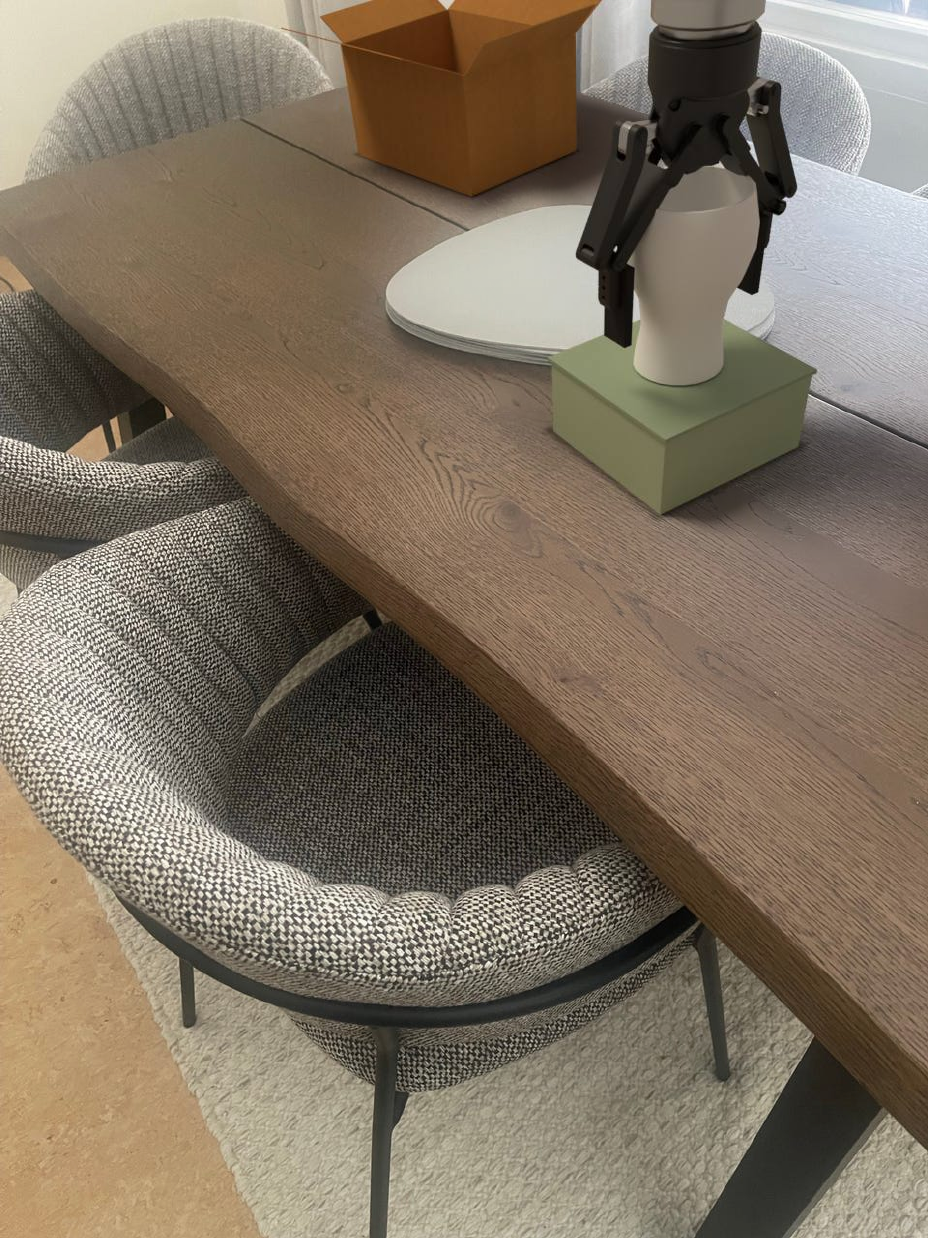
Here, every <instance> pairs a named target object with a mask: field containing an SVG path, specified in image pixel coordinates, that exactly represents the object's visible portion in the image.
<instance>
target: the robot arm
mask: <svg viewBox="0 0 928 1238" xmlns="http://www.w3.org/2000/svg"><path fill="white" fill-rule="evenodd" d="M766 2H767V0H650V18H651V20H652V22H653V23H654V24H656V25H655V26H654V28H653V29H652V31H651V32H650V33H649V37H648V54H647V55H648V56H647V57H648V58H647V77H646V78H647V86H648V88H649V92H650V94H651V99H652V100H651V101H652V104H651V109H650V112H649V115H648V117H647V119H645V120H637V121H634V122H633V121H631V120H628V119H625V118H618V119H617V120H616V121H615V123H614V124H613V128H612V135H611V145H610V154H609V157H608V160H607V163H606V166H605V169H604V170H603V174H602V177H601V180H600V183H599V186H598V188H597V191H596V194H595V197H594V199H593V202H592V206H591V208H590V211H589V214H588V216H587V219H586V222H585V225H584V227H583V230H582V232H581V233H582V234H581V236H580V239H579V242H578V244H577V247H576V251H575V258H576V260H578V261H580V262H581V263H583V264H585V265H586V266H588V267H590V268H592V269H594V270H596V271H597V272H598V275H597V276H598V277H597V278H598V279H597V286H598V288H597V291H598V292H597V299H598V303H599V304H600V305H601V306H603V307H604V309H603V311H604V313H603V315H604V316H603V335H604V336H605V337H607V338H609V339H610V340H612V341H613V342H615V343H617V344H618V345H620V346H621V347H623V348H627V347H629V346H631V345H632V327H633V322H634V300H635V298H634V297H635V291H634V277H635V268H634V267H632V266H630V265H629V264H627V262H628V261H629V259H630V257H631V256H632V254H633V252H634V250H635V249H636V247H637V245H638V243H639V242H640V240H641V238H642V236H643V235H644V233H645V231H646V230H647V228H648V226H649V224H650V223H651V221H652V219H653V217H654V216H655V212H656V209H658V208H659V207H660V205H661V204H662V202H663V200H664V198H665V197H666V195H667V193H668V191H669V190H670V189H671V188H674V187H676V186H677V185H678V184H679V182H680V180H681V179H682V177H683V175H684V174H687V175H688V174H691V173H694V172H696V171H697V170H699V169H700V168H702V167H703V166H713V165H719V164H721V166H724V168H725V169H727V170H729V171H731V172H733V173H735V174H737V175H742V176H748V175H749V176H750V177H751V178H752V179H753V181H754V182H755V183H756V191H757V201H758V211H759V221H760V224H759V231H758V238H757V246H756V250H755V252H754V254H753V257H752V259H751V261H750V264H749V266H748V268H747V270H746V273H745V275H744V277H743V279H742V281H741V282H740V284H739V285H738V287H737V288H736V289H738V290H740V291H742V292H744V293H747V294H748V295H751V296H754V295H757V294H759V291H760V285H761V277H762V270H763V263H764V255H765V249H767V248H768V245H769V243H770V238H771V231H772V223H773V218H774V216H777V217H779V216H781V215H782V214H783V213H785V211H786V208H787V204H788V203H787V201H786V200H784V199H785V198H787V199H792V198H793V197H794V196H795V195H796V193H797V191H798V183H797V177H796V174H795V170H794V169H795V168H794V166H793V161H792V157H791V153H790V148H789V146H788V145H789V143H788V139H787V135H786V132H785V128H784V127H785V126H784V123H783V119H782V118H783V117H782V115H781V106H782V89H783V88H782V84H781V83H780V82H779V81H775V80H772V79H769V78H765V77H762V76H758V67H759V59H760V53H761V52H760V50H761V43H762V33H763V29H762V27H761V26H760V24H759V22H758V21H757V20H759V19H760V18H761V17H762V16H763V15H764V14H765V13H766V12H765V11H766V4H767V3H766ZM744 119H746V123H747V126H748V131H749V135H750V138H751V141H752V145H753V148H754V152H755V155H756V159H757V160H756V159H755V158H754V156H753V154H752V153H751V150H752V147H751V145H750V144H749V142H748V140H747V139H746V137H745V136H744V134H743V133H742V131H741V129H740V128H741V126H742V124H743V121H744ZM660 161H662V163H663V164H664V166H665V167H668V168H667V169H664V167H662V166H659V163H660ZM615 249H616V250H615Z"/></svg>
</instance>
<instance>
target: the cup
mask: <svg viewBox="0 0 928 1238" xmlns="http://www.w3.org/2000/svg"><path fill="white" fill-rule="evenodd" d="M663 168H664V169H667V168H668V167H667V166H664V167H663ZM759 224H760V221H759V211H758V201H757V191H756V183H755V182H754V181H753V179H752V178H751V177H750V176H749V175H748V176H742V175H737V174H735V173H733V172H731V171H729V170H727V169H725V168H724V166H723V165H719V164H716V165H713V166H703V167H702V168H700V169H699V170H697V171H696V172H694V173H691V174H688V175H687V174H684V175H683V177H682V179H681V180H680V182H679V184H678V185H677V186H676V187H674V188H671V189H670V190H669V191H668V193H667V195H666V197H665V198H664V200H663V202H662V204H661V205H660V207H659V208H658V209H656V212H655V216H654V217H653V219H652V221H651V223H650V224H649V226H648V228H647V230H646V231H645V233H644V235H643V236H642V238H641V240H640V242H639V243H638V245H637V247H636V249H635V250H634V252H633V254H632V256H631V257H630V259H629V261H628V262H627V264H629V265H630V266H632V267H634V268H635V277H634V294H636V298H638V309H639V318H640V319H639V320H641V326H640V330H639V334H638V339H637V343H636V348H635V354H634V363H633V365H634V367H635V369H636V371H637V372H638V373H639V374H640V375H641V376H643V377H645V378H647V379H648V380H651V381H654V382H657V383H660V384H667V385H690V384H697V383H700V382H703V381H707V380H708V379H710V378H712V377H714V376H716V375H717V374H718V373H719V372H720V371H721V369H722V367H723V365H724V357H723V336H722V323H723V319H725V315H726V312H727V307H728V303H729V300H730V299H731V297H732V296H733V295H734V293H735V291H736V290H737V289H738V288H737V287H738V285H739V284H740V282H741V281H742V279H743V277H744V275H745V273H746V270H747V268H748V266H749V264H750V261H751V259H752V257H753V254H754V252H755V250H756V246H757V238H758V231H759Z"/></svg>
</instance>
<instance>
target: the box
mask: <svg viewBox="0 0 928 1238" xmlns="http://www.w3.org/2000/svg"><path fill="white" fill-rule="evenodd" d="M602 1H603V0H453V2H452V3H451V4H450V5H449V7H448V8H446V7H445V6H444V5H443V3H442V2H440V0H368V1H365V2H361V3H358V4H355V5H351V6H348V7H345V8H342V9H339V10H336V11H332V12H329V13H326V14H323V15H319V18H320V19H321V20H322V22H323V23H324V24H325V25H326V26H327V27H328V28H329V30H331V32H332V33H333V34H334V35H335V36H336V37H337V39H338V40H339V41H336V40H332V39H328V38H325V37H324V38H323V37H321V36H315V35H313V34H308V33H306V32H305V33H304V32H300V31H296V30H292V29H288V28H284V27H280V29H282V30H284V31H289V32H291V33H296V34H299V35H304V36H307V37H311V38H315V39H319V40H323V41H326V42H331V43H335V44H339V45H340V49H341V56H342V62H343V67H344V74H345V79H346V86H347V91H348V98H349V104H350V111H351V116H352V117H351V118H352V122H353V128H354V135H355V141H356V147H357V152H358V154H359V156H361V157H363V158H365V159H368V160H371V161H374V162H377V163H379V164H382V165H385V166H388V167H391V168H393V169H396V170H398V171H400V172H403V173H406V174H409V175H412V176H415V177H417V178H420V179H423V180H425V181H428V182H431V183H433V184H436V185H438V186H442V187H444V188H447V189H449V190H452V191H455V192H458V193H461V194H463V195H465V196H469V197H474V196H476V195H479V194H481V193H484V192H486V191H488V190H490V189H493V188H495V187H497V186H499V185H501V184H504V183H506V182H509V181H510V180H513V179H516V178H518V177H520V176H522V175H524V174H526V173H530V172H532V171H534V170H536V169H538V168H540V167H543V166H545V165H548V164H549V163H552V162H555V161H556V160H559V159H561V158H563V157H565V156H568V155H570V154H572V153H575V152H576V150H577V148H578V145H577V144H578V142H577V141H578V134H577V133H578V132H577V131H578V129H577V124H578V122H577V121H578V119H577V115H578V113H577V33H578V32H579V30H580V29H581V27H582V26H583V25H584V24H585V23H586V21H587V20H588V18H589V17H590V16H591V15H592V13H593V12H594V11H595V10H596V8H597V7H598V6H599V5H600V4H601V2H602Z"/></svg>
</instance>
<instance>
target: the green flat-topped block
mask: <svg viewBox="0 0 928 1238" xmlns="http://www.w3.org/2000/svg"><path fill="white" fill-rule="evenodd" d="M640 326H641V320H640V319H638V320H635V321H633V327H632V345H631V346H629V347H627V348H623V347H621V346H620V345H618V344H617V343H615V342H613V341H612V340H610V339H609V338H607V337H605V336H604V334H602V335H599V336H597V337H594V338H591V339H589V340H587V341H585V342H582V343H580V344H577V345H575V346H572V347H569V348H568V349H564V350H562V351H560V352H557V353H555V354H552V355H551V356H548V357H547V361H548V362H549V363H550V365H551V395H552V397H551V399H552V400H551V402H552V432H553V433H554V434H556V435H557V436H558V437H560V438H561V439H562V440H564V441H565V442H566V443H568V445H570V446H572V447H573V448H574V449H575V450H577V451H578V452H579V453H580V454H582V456H584V457H585V458H586V459H588V460H590V462H592V463H593V464H594V465H596V466H597V468H599V469H601V470H602V471H603V472H605V473H606V474H607V475H608V476H610V477H611V478H612V479H613V480H614V481H616V482H618V483H619V485H621V486H622V487H624V488H625V489H627V490H628V491H629V492H630V493H632V495H634V496H635V497H637V498H638V499H639V500H641V501H642V502H643V503H644V504H645V505H646V506H648V507H649V508H651V509H652V510H653V511H655V512H656V513H657V514H659V515H660V516H661V515H663V514H665V513H667V512H669V511H671V510H673V509H675V508H678V507H679V506H681V505H683V504H685V503H688V502H690V501H691V500H694V499H695V498H698V497H700V496H701V495H703V494H706V493H708V492H710V491H711V490H714V489H716V488H717V487H720V486H721V485H724V484H726V483H729V482H730V481H732V480H734V479H736V478H738V477H740V476H742V475H744V474H746V473H748V472H750V471H752V470H754V469H757V468H758V467H760V466H762V465H764V464H766V463H768V462H770V461H772V460H775V459H777V458H778V457H780V456H782V455H785V454H786V453H789V452H790V451H792V450H794V449H796V448H798V447H799V445H800V440H801V436H802V435H801V434H802V430H803V425H804V421H805V420H804V419H805V414H806V409H807V404H808V399H809V395H810V389H811V385H812V379H813V376H814V375H816V374H817V372H818V368H816V367H814V366H812V365H810V364H808V363H806V362H805V361H803V360H801V359H799V358H797V357H795V356H793V355H792V354H790V353H788V352H786V351H784V350H782V349H781V348H779V347H777V346H776V345H773V344H771V343H769V342H767V341H765V340H763V339H762V338H760V337H758V336H756V335H755V334H752V333H751V332H749V331H747V330H746V329H744V328H741V327H739V326H738V325H736V324H734V323H732V322H730V321H728V320H727V319H725V318H724V319H723V323H722V336H723V357H724V365H723V367H722V369H721V371H720V372H719V373H718V374H717V375H716V376H714V377H712V378H710V379H708V380H707V381H703V382H700V383H697V384H690V385H667V384H660V383H657V382H654V381H651V380H648V379H647V378H645V377H643V376H641V375H640V374H639V373H638V372H637V371H636V369H635V367H634V365H633V363H634V354H635V348H636V343H637V339H638V334H639V330H640Z"/></svg>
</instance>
